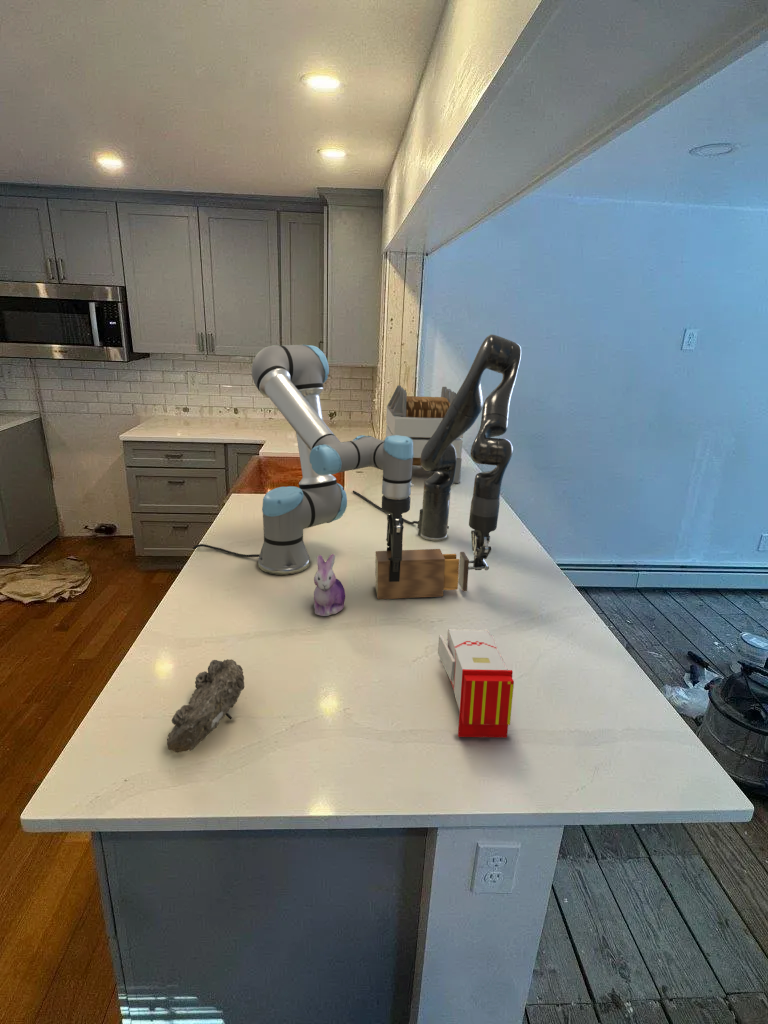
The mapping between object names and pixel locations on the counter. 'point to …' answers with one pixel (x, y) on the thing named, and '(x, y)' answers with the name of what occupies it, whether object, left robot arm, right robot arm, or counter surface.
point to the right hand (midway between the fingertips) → (477, 569)
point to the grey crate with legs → (420, 421)
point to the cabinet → (411, 574)
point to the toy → (478, 682)
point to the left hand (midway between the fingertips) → (392, 574)
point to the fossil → (206, 705)
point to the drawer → (458, 571)
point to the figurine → (327, 589)
